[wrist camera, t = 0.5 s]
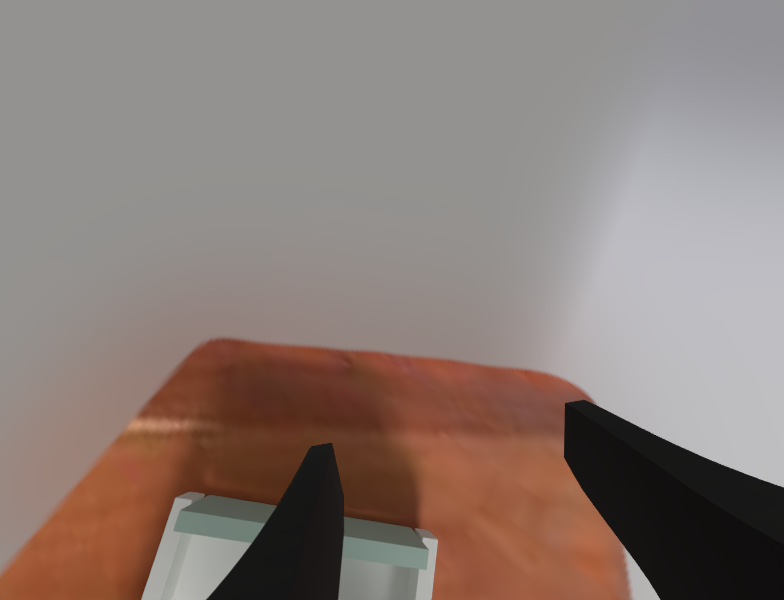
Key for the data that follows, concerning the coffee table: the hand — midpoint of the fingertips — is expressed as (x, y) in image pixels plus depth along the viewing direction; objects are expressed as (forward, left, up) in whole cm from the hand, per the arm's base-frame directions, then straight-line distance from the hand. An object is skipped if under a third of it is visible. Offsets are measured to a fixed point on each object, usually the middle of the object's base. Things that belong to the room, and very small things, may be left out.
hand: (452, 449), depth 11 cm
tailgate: (-6, +4, -24) cm, 25 cm away
